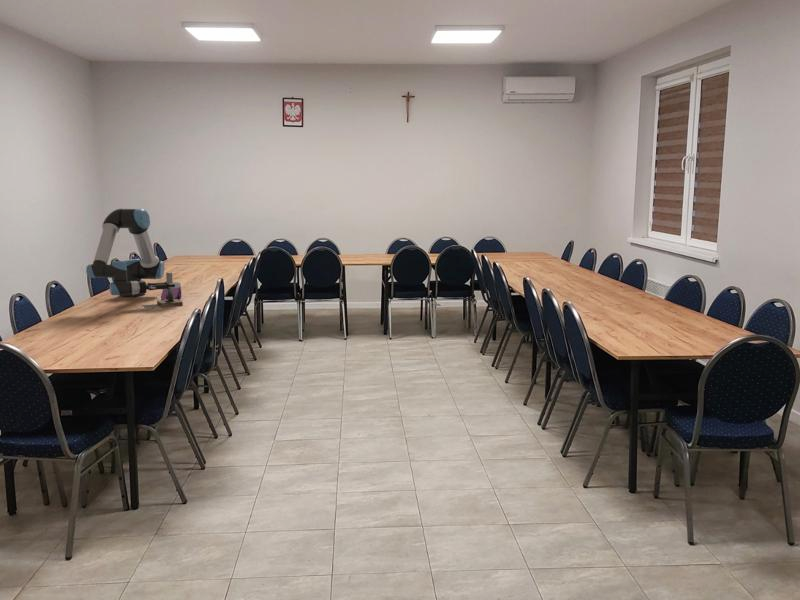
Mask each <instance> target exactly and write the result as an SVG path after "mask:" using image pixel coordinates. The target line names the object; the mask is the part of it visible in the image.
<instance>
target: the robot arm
mask: <svg viewBox="0 0 800 600" xmlns="http://www.w3.org/2000/svg"><path fill="white" fill-rule="evenodd" d="M150 226H151V219H150V214H149V213H148V211H147V210H146V209H143V208H116V209H115V210H113V211H111V212H110V213H109V214H108V215H107V216H106V217H105V218H104V220H103V223H102V225H101V228H102V232H101V235H100V239H99V242H98V246H97V247H96V248H97V249H96V253H95V256H94V258H93V262H92V263H91V264H88V265H86V268H85V272H86V275H87V277H89V278H92V279H93V278H95V279H99V278H101V279H102V278H103V279H104V278H105V279H107V278H108V279H112V282H109V293H110V295H112V296H120V295H121V296H120V297H125V296H129V297H130V296H132V297H142V296H144V295H146V293H147V290H149V291H156V290H163V289H169V288H178V287H180V286H181V282H179V281H173V283H169V284H167V280H166V281H164V282H148V283H146V281H145V280H161V279H162V278H163V277H164V274H165V262H164V261H163V260H160V259H159V258H160V257H158V256H157V255H156V254H155V252H154V251H155V250H154V247H153V245H152V241H151V238H150V236H149V231H148V229H149V228H150ZM120 229H127V230H128V232H129V233H130V234H131V235H132V236H133V239H134V241H135V244H136V248H137V250H138V253H139V256H140V258H132V259H126V260H125V259H124V260H115V261H112V263H111V264H108V262H109V259H110V257H111V253H112V248H113V246H114V243H115V239H116V237H117V236H116V235H117V234H118V233H119V232H120ZM129 297H128V298H129Z"/></svg>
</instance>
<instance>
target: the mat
mask: <svg viewBox="0 0 800 600" xmlns="http://www.w3.org/2000/svg"><path fill="white" fill-rule="evenodd" d="M141 306H142V307H143V308H145V309H151V308H160V306H159V305H158V304H156V303H155V304H154V303H153V304H144V305H141Z"/></svg>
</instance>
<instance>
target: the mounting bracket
mask: <svg viewBox="0 0 800 600" xmlns="http://www.w3.org/2000/svg"><path fill="white" fill-rule="evenodd" d="M181 287H182V286H181V285H180V287H178V288H173V299H178V300H181V299H182V288H181ZM160 300H167V289H162V292H161V295H160Z"/></svg>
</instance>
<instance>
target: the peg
mask: <svg viewBox="0 0 800 600" xmlns="http://www.w3.org/2000/svg"><path fill="white" fill-rule="evenodd" d="M165 274H166V275H165V279H166V282H167V284H169V283H173V282H174V281H173V280H174V279H173V272H166V273H165ZM167 301H168V302H172V301H173V288H169V289H167Z"/></svg>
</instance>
